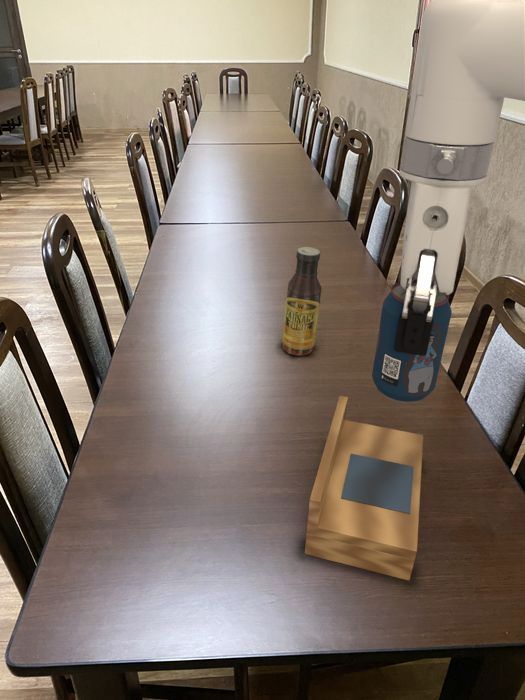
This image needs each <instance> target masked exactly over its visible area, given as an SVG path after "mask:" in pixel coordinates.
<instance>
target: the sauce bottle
mask: <svg viewBox="0 0 525 700" xmlns="http://www.w3.org/2000/svg"><path fill="white" fill-rule="evenodd" d="M295 258H296V267H295V273H294V274H293V276H292V277H291V279H290V280H289V281H288V283H287V293H286V298H285V305H284V306H285V307H284V320H283V327H282V339H281V340H282V344H281V345H282V350H283V351H284V352H286V353H287V354H289V355H292V356H295V357H302V356H304V357H305V356H308V355H310V354H311V353H312V352H313V351H314V348H315V345H316V340H317V330H318V324H319V315H320V309H321V307H320V306H321V296H322V290H323V289H322V288H323V287H322V285H321V282H320V280H319V279H318V268H319V261H320V259H321V251H320V249H318V248H316V247H311V246H302V247H298V248H297V249H296V254H295Z"/></svg>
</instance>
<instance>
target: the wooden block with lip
mask: <svg viewBox="0 0 525 700" xmlns="http://www.w3.org/2000/svg"><path fill="white" fill-rule="evenodd" d="M348 402H349V397H348V396H344V395H339V396H338V400H337V403H336V406H335V410H334V413H333V417H332V420H331V424H330V428H329V431H328V434H327V438H326V441H325V444H324V448H323V451H322V455H321V459H320V462H319V466H318V469H317V473H316V475H315V479H314V483H313V486H312V490H311V493H310V497H309V500H308V501H309V503H308V512H307V513H308V514H307V524H306V533H305V535H306V536H305V544H304V545H305V546H304V555H307V556H312V557H315V558H319V559H322V560H327V561H331V562H334V563H339V564H343V565H345V566H346V565H347V566H350V567H354V568H358V569H362V570H366V571H369V572H374V573H378V574H382V575H385V576H389V577H393V578H397V579H402V580H405V581H410V580H411V576H412V573H413V569H414V564H415V560H416V557H417V553H418V541H419V522H420V521H419V520H420V519H419V518H420V504H421V503H420V502H421V483H422V465H423V448H424V446H423V445H424V435H423V434H420V433H415V432H409V431H404V430H400V429H395V428H388V427H385V426H384V427H383V426H380V425H379V426H378V425H373V424H368V423H364V422H359V421H352V420H347V419H346V417H347V409H348Z"/></svg>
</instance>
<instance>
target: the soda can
mask: <svg viewBox="0 0 525 700" xmlns="http://www.w3.org/2000/svg"><path fill="white" fill-rule="evenodd" d="M400 283H401V280H400V281H398V282H395V283H394V284H393V285H391V288H390V292H388V294H387V295H386V297H385V298H384V299H383V302H382V307H381V314H380V319H379V327H378V333H377V340H376V346H375V351H374V352H375V353H374V359H373V364H372V365H373V366H372V372H371V378H372V381H373V384H374V385H375V387H376V389H377V391H378V392H379V394H381V395H382V396H383V397H385V398H386V399H388V400H390V401H392V402H396V403H400V404H415V403H418V402H421V401H423V400H424V399H425V398H427V397H428V396H429V395H430V394H431V393H432V392H433V391H434V390H435V388H436V386H437V381H438V376H439V371H440V367H441V362H442V358H443V354H444V349H445V345H446V340H447V337H448V331H449V327H450V323H451V317H452V314H453V311H452V307H451V304H450V301H449V298H450V294H449V295H445V293H442V292H440V291H439V288H438V287H437V294H436V298H435V304H434V310H433V315H432V318H434V321H433V326H432V331H431V336H430V341H429V345H428V350H427V354H426V355H424V356H421V355H415V354H408V353H402V352H397V351H395V350H394V345H395V339H396V333H397V327H398V321H399V315H400V314H402V313H403V308H404V302H405V296H406V290H405V289H404V288H403V287H402V286H401V285H400ZM416 284H417V281H415V280H412V284H411V285H413V286H416ZM406 287H407V286H406ZM431 288H433V283H431ZM414 295H415V293H411V299H414ZM429 297H430V295H429ZM411 299H410V301H411ZM428 301H429V300H428ZM408 312H409V311H408Z"/></svg>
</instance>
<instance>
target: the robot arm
mask: <svg viewBox="0 0 525 700" xmlns="http://www.w3.org/2000/svg"><path fill="white" fill-rule="evenodd" d="M412 76H413V78H412V83H411V90H410V97H409V105H408V112H407V118H406V125H405V130H404V131H405V132H404V137H403V144H402V151H401V158H400V165H399V173H398V175H399V176H400V177H401V178H403V179H405V180H407V181H410V182H411V183H410V189H409V196H408V201H407V209H406V217H405V224H404V231H403V238H402V251H401V266H400V281H401V283H400V285H401V286H402V287H403V288H404V289H405V290H406V296H405V302H404V308H403V313H402V314H400V315H399V321H398V327H397V333H396V339H395V345H394V350H395V351H397V352H402V353H408V354H415V355H421V356H424V355H426V354H427V350H428V345H429V341H430V336H431V331H432V326H433V321H434V318H432V315H433V310H434V304H435V298H436V294H437V287H438V288H439V291H440V292H442V293H445V295H449V296H450V295H452V293H453V292H454V288H455V281H456V278H457V272H458V267H459V260H460V256H461V251H462V247H463V242H464V237H465V232H466V227H467V223H468V222H467V221H468V216H469V210H470V203H471V198H472V189H473V188H472V187H475V186H481V185H482V184H484V183H485V182H486V180H487V175H488V173H489V172H488V171H489V166H490V162H491V158H492V155H493V149H494V145H495V141H496V137H497V131H498V128H499V124H500V118H501V115H502V109H503V105H504V102H505V98H506V99H512V100H517V101H522V102H525V0H430V1H429V3H428V4H427V6H426V7H425V9H424V12H423V14H422V19H421V24H420V29H419V34H418V43H417V50H416V56H415V63H414V69H413V75H412ZM412 280H415V281H417V284H416V286H413V285H411V284H412ZM431 283H433V288H431ZM406 286H407V287H406ZM411 293H415V295H414V299H411ZM429 295H430V297H429ZM410 299H411V301H410ZM428 300H429V301H428ZM408 311H409V312H408Z"/></svg>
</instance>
